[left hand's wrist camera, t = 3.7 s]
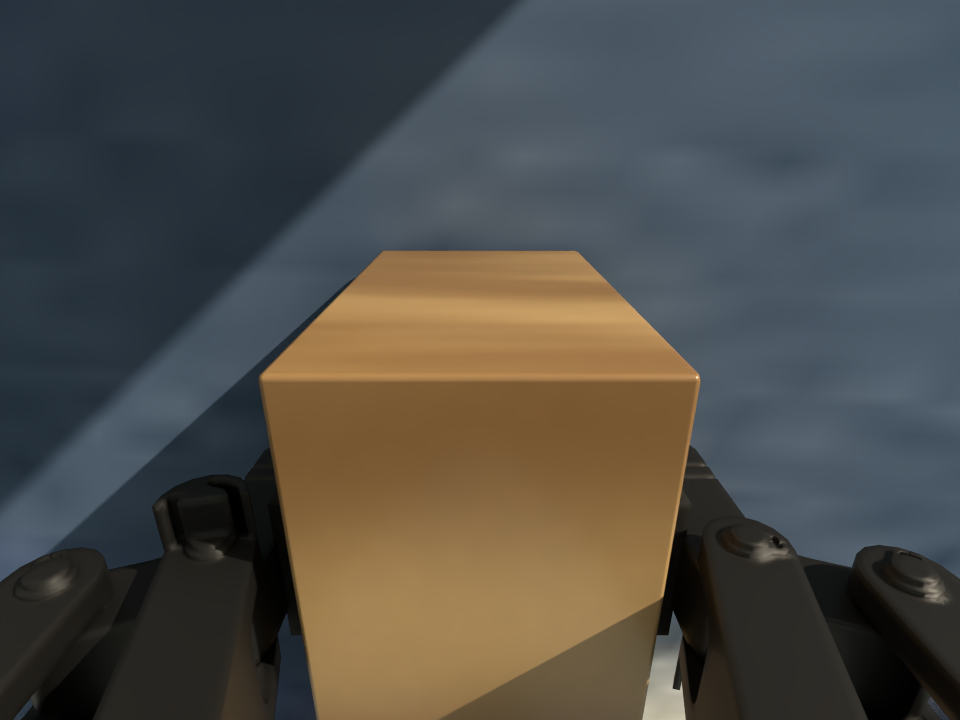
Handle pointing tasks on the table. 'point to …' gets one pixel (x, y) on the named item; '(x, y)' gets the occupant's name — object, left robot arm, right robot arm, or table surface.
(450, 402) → the oak bar
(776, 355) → the table surface
